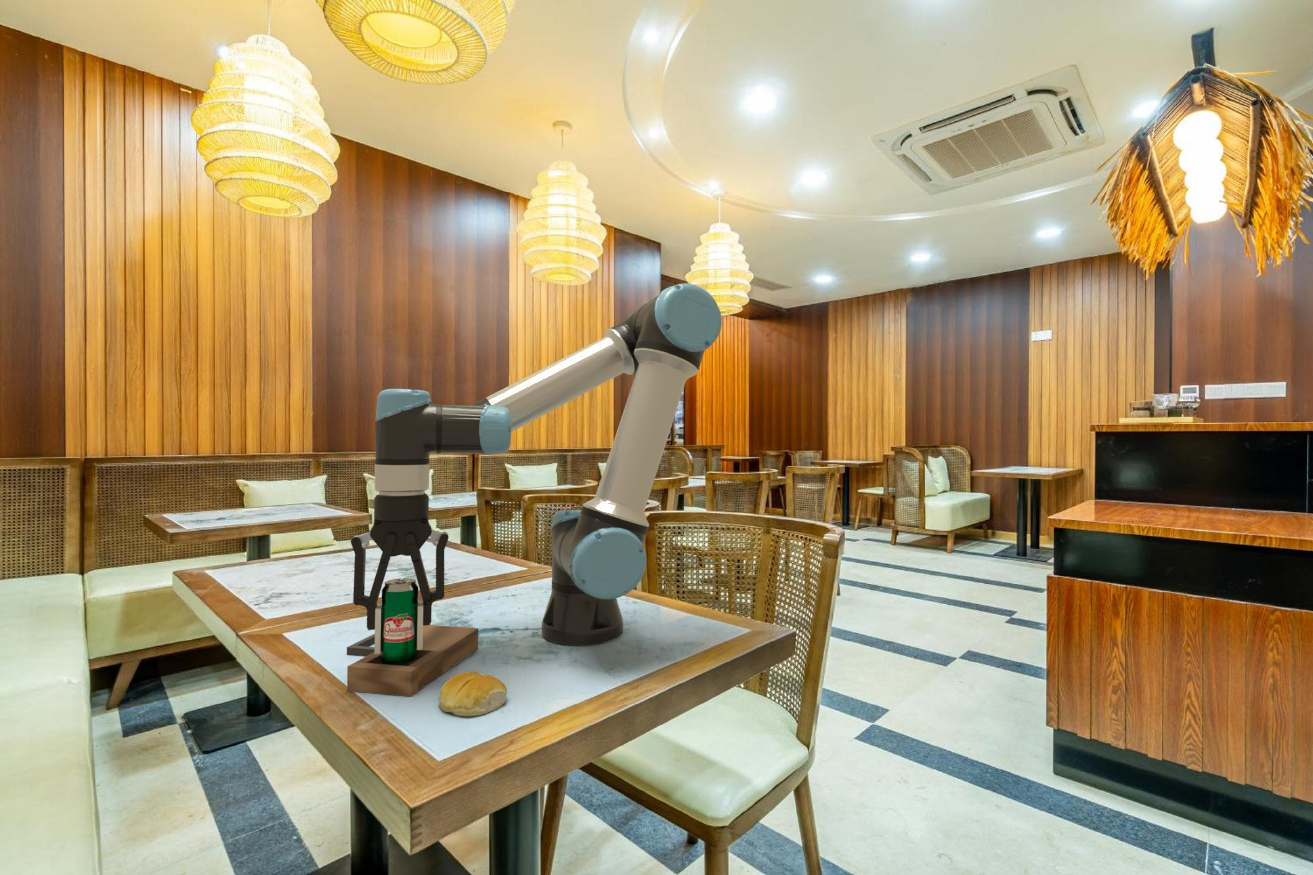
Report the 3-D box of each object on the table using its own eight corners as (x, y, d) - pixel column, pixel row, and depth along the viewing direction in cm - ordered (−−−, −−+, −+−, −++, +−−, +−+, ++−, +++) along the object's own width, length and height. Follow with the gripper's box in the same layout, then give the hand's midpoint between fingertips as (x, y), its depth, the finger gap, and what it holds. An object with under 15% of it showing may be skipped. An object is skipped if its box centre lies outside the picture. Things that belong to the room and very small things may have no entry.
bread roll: (472, 687, 88) (472, 659, 88) (516, 701, 84) (516, 672, 84) (423, 707, 81) (424, 678, 82) (468, 724, 77) (469, 693, 77)
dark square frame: (425, 640, 108) (426, 633, 108) (395, 658, 99) (395, 651, 99) (380, 637, 110) (380, 630, 110) (346, 654, 101) (346, 647, 101)
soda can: (378, 669, 87) (379, 586, 87) (382, 657, 92) (383, 578, 92) (416, 665, 89) (417, 584, 89) (418, 654, 93) (419, 576, 94)
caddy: (478, 648, 104) (478, 628, 104) (411, 696, 84) (411, 671, 84) (424, 644, 106) (425, 624, 106) (347, 690, 86) (347, 666, 86)
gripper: (464, 490, 97) (462, 635, 97) (338, 491, 91) (335, 646, 91) (466, 494, 90) (463, 650, 90) (329, 496, 84) (326, 664, 84)
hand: (399, 648), depth 90 cm, fingers closed on soda can, 5 cm apart
